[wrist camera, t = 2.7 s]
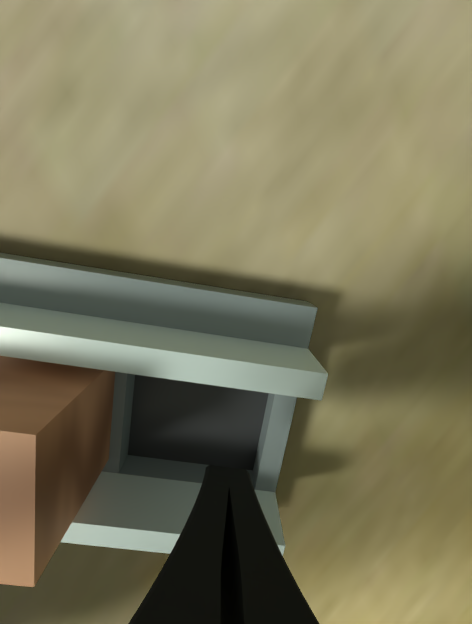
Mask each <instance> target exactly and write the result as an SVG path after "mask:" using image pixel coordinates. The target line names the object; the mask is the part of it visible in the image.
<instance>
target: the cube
mask: <svg viewBox="0 0 472 624" xmlns="http://www.w3.org/2000/svg"><path fill="white" fill-rule="evenodd" d="M114 382H115V372H114V371H107V370H100V369H92V368H85V367H78V366H71V365H64V364H57V363H49V362H42V361H35V360H28V359H21V358H14V357H6V356H0V584H7V585H17V586H27V587H34V586H35V585H36V583H37V581H38V580H39V578H40V576H41V574H42V573H43V571H44V569H45V568H46V566H47V564H48V562H49V561H50V559H51V557H52V556H53V554H54V552H55V550H56V549H57V547H58V545H59V544H60V542H61V540H62V538H63V537H64V535H65V533H66V532H67V530H68V528H69V526H70V525H71V523H72V521H73V520H74V518H75V516H76V514H77V513H78V511H79V509H80V508H81V506H82V504H83V502H84V501H85V499H86V497H87V496H88V494H89V492H90V490H91V489H92V487H93V485H94V484H95V482H96V480H97V478H98V477H99V475H100V473H101V472H102V470H103V468H104V466H105V465H106V463H107V461H108V460H109V448H110V435H111V422H112V409H113V395H114Z"/></svg>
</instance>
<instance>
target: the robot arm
mask: <svg viewBox="0 0 472 624" xmlns="http://www.w3.org/2000/svg"><path fill="white" fill-rule="evenodd" d="M129 624H319V622H318V621H317V619H316V617H315V616H314V614H313V612H312V610H311V609H310V607H309V605H308V603H307V602H306V600H305V598H304V596H303V594H302V593H301V591H300V589H299V587H298V585H297V583H296V581H295V580H294V578H293V576H292V574H291V572H290V570H289V568H288V566H287V564H286V562H285V560H284V558H283V556H282V554H281V552H280V550H279V547H278V545H277V543H276V541H275V539H274V537H273V534H272V532H271V530H270V528H269V525H268V523H267V521H266V518H265V516H264V514H263V511H262V509H261V506H260V504H259V501H258V498H257V496H256V493H255V490H254V487H253V484H252V481H251V478H250V475H249V472H248V471H247V470H245V469H237V468H230V467H222V466H214V465H209V466H207V467H206V469H205V475H204V478H203V482H202V485H201V488H200V491H199V494H198V496H197V499H196V501H195V504H194V506H193V508H192V511H191V513H190V515H189V517H188V520H187V522H186V524H185V526H184V528H183V530H182V532H181V534H180V536H179V538H178V540H177V542H176V544H175V546H174V548H173V549H172V551H171V553H170V555H169V557H168V559H167V561H166V563H165V564H164V566H163V568H162V570H161V572H160V573H159V575H158V577H157V578H156V580H155V582H154V584H153V585H152V587H151V588H150V590H149V592H148V593H147V595H146V597H145V598H144V600H143V602H142V603H141V605H140V606H139V608H138V610H137V611H136V613H135V614H134V616H133V617H132V619H131V620H130V622H129Z"/></svg>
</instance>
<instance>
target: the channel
mask: <svg viewBox="0 0 472 624" xmlns="http://www.w3.org/2000/svg"><path fill="white" fill-rule="evenodd" d="M316 312H317V307H315V306H314V305H312V304H311V303H309V302H308V301H302V300H295V299H289V298H283V297H277V296H270V295H264V294H258V293H251V292H245V291H239V290H232V289H226V288H220V287H214V286H207V285H201V284H195V283H188V282H182V281H176V280H170V279H163V278H157V277H151V276H144V275H138V274H132V273H125V272H119V271H113V270H107V269H100V268H94V267H88V266H81V265H75V264H69V263H63V262H56V261H50V260H44V259H37V258H31V257H25V256H18V255H12V254H6V253H0V356H6V357H14V358H21V359H28V360H35V361H42V362H49V363H57V364H64V365H71V366H78V367H85V368H92V369H100V370H107V371H114V372H115V382H114V395H113V409H112V422H111V435H110V448H109V460H108V461H107V463H106V465H105V466H104V468H103V470H102V472H101V473H100V475H99V477H98V478H97V480H96V482H95V484H94V485H93V487H92V489H91V490H90V492H89V494H88V496H87V497H86V499H85V501H84V502H83V504H82V506H81V508H80V509H79V511H78V513H77V514H76V516H75V518H74V520H73V521H72V523H71V525H70V526H69V528H68V530H67V532H66V533H65V535H64V537H63V538H62V540H61V542H63V543H73V544H82V545H92V546H101V547H111V548H120V549H130V550H139V551H148V552H158V553H167V554H170V553H171V551H172V549H173V548H174V546H175V544H176V542H177V540H178V538H179V536H180V534H181V532H182V530H183V528H184V526H185V524H186V522H187V520H188V517H189V515H190V513H191V511H192V508H193V506H194V504H195V501H196V499H197V496H198V494H199V491H200V488H201V485H202V482H203V478H204V475H205V469H206V467H207V466H209V465H214V466H222V467H230V468H237V469H245V470H247V471H248V472H249V475H250V478H251V481H252V484H253V487H254V490H255V493H256V496H257V498H258V501H259V504H260V506H261V509H262V511H263V514H264V516H265V518H266V521H267V523H268V525H269V528H270V530H271V532H272V534H273V537H274V539H275V541H276V543H277V545H278V547H279V550H280V552H281V554H282V556H283V553H284V549H285V542H284V537H283V531H282V526H281V520H280V515H279V510H278V504H277V499H276V494H275V491H276V487H277V482H278V478H279V474H280V469H281V465H282V461H283V456H284V452H285V448H286V443H287V439H288V434H289V430H290V426H291V421H292V417H293V413H294V408H295V404H296V400H297V397H300V398H307V399H315V400H322V397H323V393H324V389H325V385H326V381H327V377H328V373H327V372H326V370H325V369H324V368H323V367H322V365H321V364H320V363H319V362H318V360H317V359H316V358H315V357H314V355H313V354H312V353H311V352H310V350H309V349H308V347H309V343H310V339H311V334H312V330H313V325H314V321H315V317H316Z"/></svg>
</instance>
